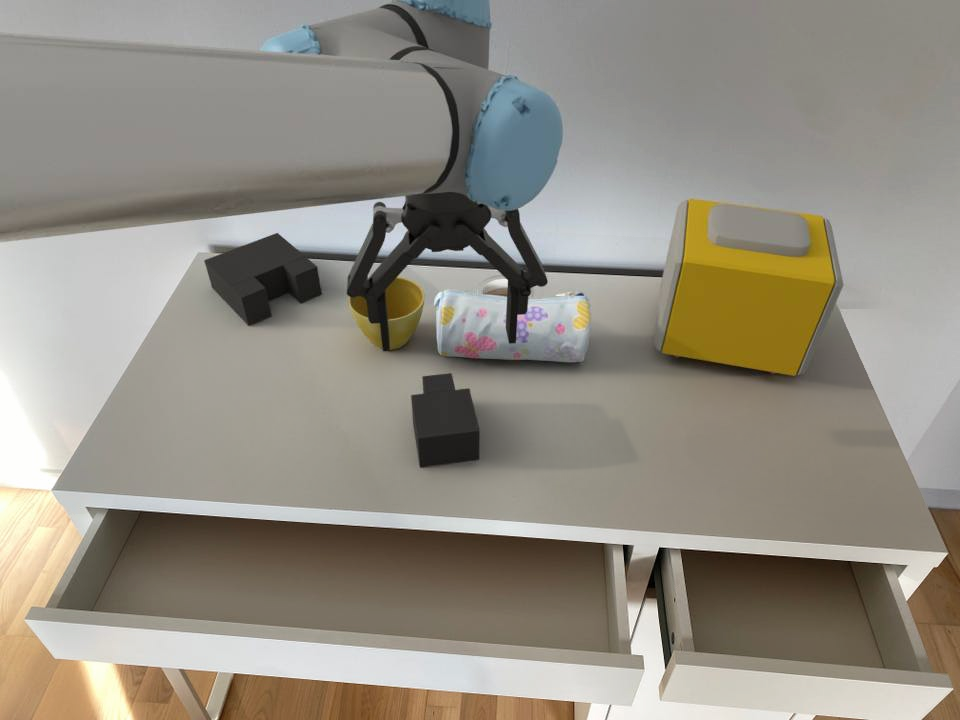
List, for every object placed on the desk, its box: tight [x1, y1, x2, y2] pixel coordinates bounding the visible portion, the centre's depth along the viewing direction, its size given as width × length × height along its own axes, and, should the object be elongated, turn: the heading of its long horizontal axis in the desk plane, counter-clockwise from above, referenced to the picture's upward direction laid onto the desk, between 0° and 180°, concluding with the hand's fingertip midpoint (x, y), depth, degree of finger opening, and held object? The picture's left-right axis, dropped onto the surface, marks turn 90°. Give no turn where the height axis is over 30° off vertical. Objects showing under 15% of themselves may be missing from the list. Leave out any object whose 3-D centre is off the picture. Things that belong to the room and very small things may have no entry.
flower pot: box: [348, 276, 426, 351], centre depth 98 cm, size 10×10×7 cm
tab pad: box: [410, 372, 481, 468], centre depth 85 cm, size 7×10×5 cm
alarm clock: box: [653, 198, 844, 377], centre depth 95 cm, size 20×16×18 cm
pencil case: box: [433, 288, 592, 363], centre depth 95 cm, size 21×9×10 cm, turn 89°
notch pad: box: [203, 232, 323, 327], centre depth 106 cm, size 12×12×5 cm
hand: (448, 339), depth 78 cm, fingers open, 13 cm apart
